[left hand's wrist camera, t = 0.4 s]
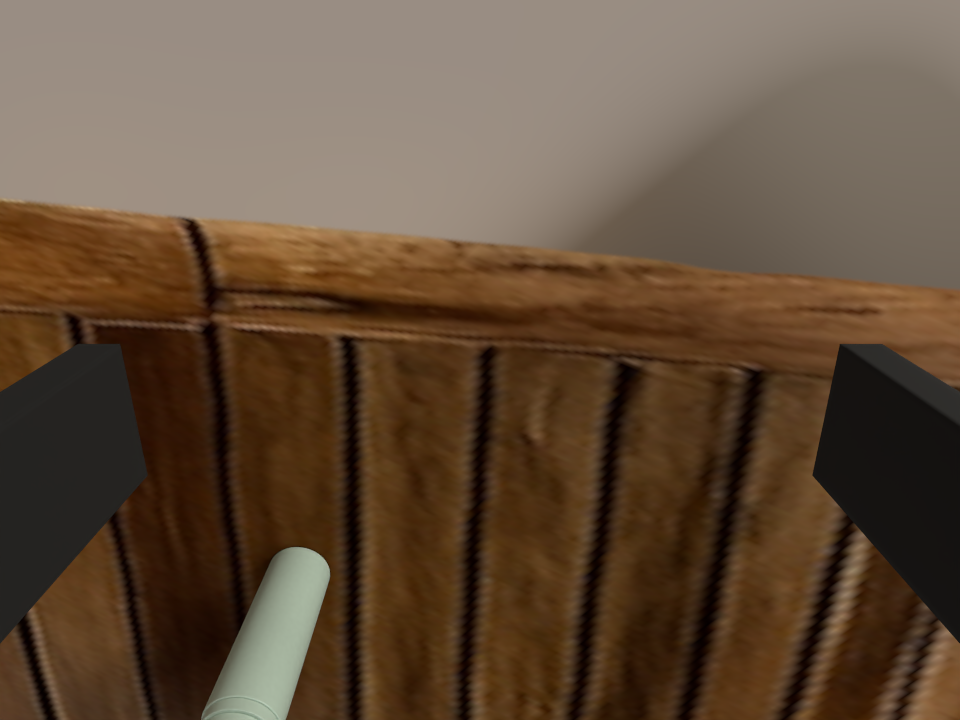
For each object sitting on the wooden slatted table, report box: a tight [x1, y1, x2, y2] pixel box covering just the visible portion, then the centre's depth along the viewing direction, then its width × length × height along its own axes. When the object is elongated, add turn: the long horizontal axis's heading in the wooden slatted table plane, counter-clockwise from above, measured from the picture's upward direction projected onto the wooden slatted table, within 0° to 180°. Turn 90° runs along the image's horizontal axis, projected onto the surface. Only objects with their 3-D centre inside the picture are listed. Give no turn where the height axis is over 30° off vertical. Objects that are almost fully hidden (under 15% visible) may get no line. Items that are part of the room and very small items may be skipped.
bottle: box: [201, 547, 330, 720], centre depth 40 cm, size 4×4×18 cm
